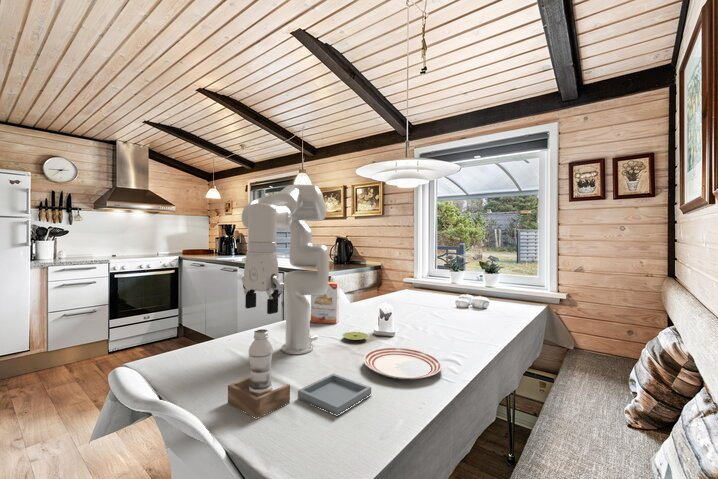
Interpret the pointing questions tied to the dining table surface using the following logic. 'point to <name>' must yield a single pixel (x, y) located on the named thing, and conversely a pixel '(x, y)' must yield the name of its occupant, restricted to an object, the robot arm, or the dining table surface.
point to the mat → (355, 335)
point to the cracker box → (326, 305)
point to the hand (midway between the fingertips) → (261, 310)
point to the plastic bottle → (260, 364)
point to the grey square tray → (334, 393)
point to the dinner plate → (399, 361)
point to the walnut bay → (256, 398)
